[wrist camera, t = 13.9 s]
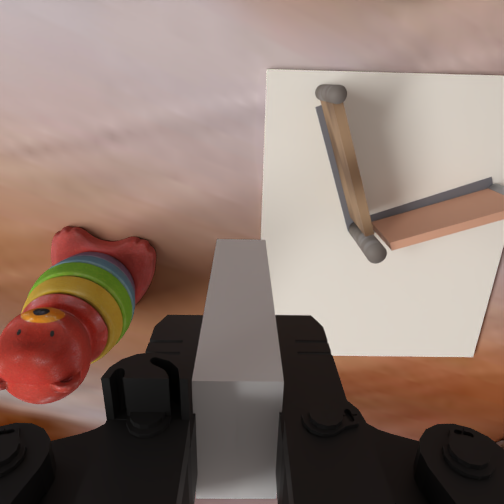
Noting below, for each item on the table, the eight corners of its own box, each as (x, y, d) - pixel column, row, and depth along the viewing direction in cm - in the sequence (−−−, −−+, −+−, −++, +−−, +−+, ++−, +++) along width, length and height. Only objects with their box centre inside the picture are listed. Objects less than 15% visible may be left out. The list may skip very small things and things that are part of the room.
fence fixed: (311, 88, 38) (324, 89, 31) (330, 81, 38) (347, 81, 31) (350, 238, 44) (369, 266, 37) (367, 233, 43) (388, 260, 37)
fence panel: (373, 231, 43) (394, 256, 37) (370, 219, 42) (391, 242, 36) (501, 194, 42) (545, 214, 36) (500, 181, 41) (545, 198, 35)
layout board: (266, 69, 38) (267, 69, 37) (545, 77, 38) (550, 76, 38) (256, 351, 49) (256, 355, 49) (470, 354, 50) (473, 357, 49)
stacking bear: (158, 239, 44) (107, 334, 27) (149, 320, 48) (99, 445, 31) (55, 222, 43) (-63, 308, 27) (54, 305, 47) (-50, 427, 30)
